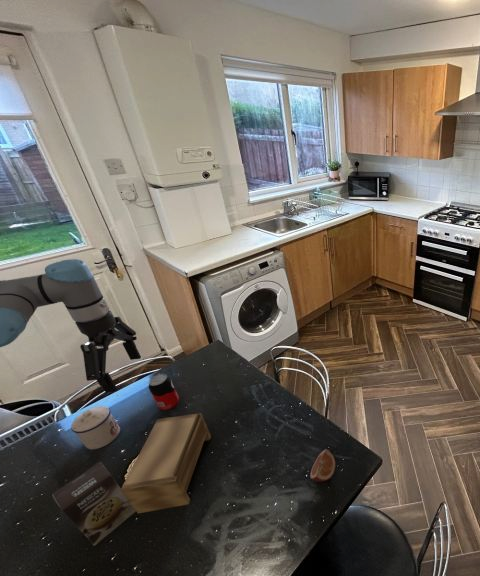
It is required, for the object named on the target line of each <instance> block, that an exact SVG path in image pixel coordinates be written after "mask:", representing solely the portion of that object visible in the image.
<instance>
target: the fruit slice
mask: <svg viewBox="0 0 480 576" xmlns="http://www.w3.org/2000/svg"><path fill="white" fill-rule="evenodd" d="M335 470H336V459H335V457H334V455H333V454H332V452H331V451H330V450H329V449H327V448H325V449H324V450H322V451H321V452H320V453H319V454H318V455H317V458H316V460H315V461H314V463H313V465H312V467H311V469H310V473H309V474H310V475H309V478H310V479H311V480H312V481H314V482H317V483H321V482H326V481H328V480H329V479H331V478H332V476H333V475H334V473H335V472H336V471H335Z"/></svg>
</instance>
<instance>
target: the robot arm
mask: <svg viewBox="0 0 480 576" xmlns="http://www.w3.org/2000/svg"><path fill="white" fill-rule="evenodd" d="M59 303H63V304H64V306H65V308H66V311H67V312H68V314H69V315H70V317H71V319H72V321H74V323H75V325H76V327H77V328H78V331H79V332H80V333H81V334H82V335H84V336H86V337H87V339H88V342H86V343H82V344H80V346H79V347H80V350H81V352H82V355H83V365H84V371H85V379H86V381H96V382H97V384H98V385H99V386H100V387H102V389H103V391H104V392H105V393H113V392H115V393H116V392H117V391H118V390H119V389H118V387H117V386H116V383H115V382H114V380H113V378H112V376H111V375H110V373H109V372H106V368H107V367H106V366H107V351H108V350H109V349H110V348H109V346H110V345H111V343H112V342H113V341H115V340H119V341H122V346H123V348H124V350H125V352H126V354H127V356H128V357H129V360H131V361H132V360H140V359H141V358H142V356H141V354H140V351H139V350H138V348H137V345H136V343H135V341H137V339H138V338H137V336H136V335H137V332H136V330H134V329H133V328H132V327H130V325H127V324H126V323H125V322H124V321H123V320H122V319H121V317H120V316H114V314H113V312H112V311H111V310H110V307H109V305H108V304H107V301H106V299H105V298H104V295H103V293H102V292H101V289H100V287H99V286H98V283H97V280H96V279H95V277H94V274H93V273H92V271H91V269H90V268H89V267H88V264H87V263H86V262H85V261H84V260H82V259H77V258H69V259H63V260H60V261H55V262H52V263H50V264H48V265H46V266H45V267H44V273H42V274H36V275H31V276H30V275H29V276H23V277H17V278H12V279H3V280H0V348H3V347H5V346H8V345H10V344H12V343H13V342H14V341H16V339H17V338H19V336H20V335H21V334H22V333H24V331H25V330H26V328H27V325H28V323H29V321H30V319H32V317H33V316H34V314H35V312H36V310H37V309H38V308H40V307H45V306H49V305H55V304H59ZM98 347H99V348H98Z"/></svg>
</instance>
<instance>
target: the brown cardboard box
mask: <svg viewBox="0 0 480 576" xmlns="http://www.w3.org/2000/svg"><path fill="white" fill-rule="evenodd" d="M121 488H122V487H120V485H119V484H118V483H117V481H116V480H115V478H114V477H113V475H112V474H111V472H110V471H109V470H108V469H107V467H106V466H105V465H104V464H103V463H102V462H101V461H99V462H97V463H96V464H94V465H93V466H92V467H90V468H88V469H86V470H85V471H84V472H83V473H81V474H79V475H78V476H77V477H75V478H74V479H72V480H71V481H69V482H68V483H66V484H64V485H63V486H62V487H61V488H59V489H58V490H56V491H54V492H53V493H52V498H53V499H54V501H55V503H56V504H57V505H58V507H59V508H60V510H61V511H62V512H63V513H64V514H65V515H66V517H67V518H68V519H69V520H70V521H71V522H72V523H73V524H74V525H75V527H77V528H78V530H79V531H80V532H81V533H82V534H83V535H84V536H85V537H86V539H87V540H89V542H90V543H91V544H92V545H93V546H97V545H98V544H99V543H100V542H101V541H102V540H103V539H105V538H106V537H107V536H108V535H109V534H111V533H112V532H113V531H114V530H116V529H117V528H118V527H119V526H121V525H122V524H123V523H124V522H125V521H127V520H128V519H129V518H130V517H132V516H133V515H134V514H135V513H137V512H136V510H135V509H134V507H133V506H132V505H131V503H130V502H129V501H128V499H127V498H126V497H125V495H124V494H123V493H122V491H121Z"/></svg>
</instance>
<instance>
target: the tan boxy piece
mask: <svg viewBox="0 0 480 576" xmlns="http://www.w3.org/2000/svg"><path fill="white" fill-rule="evenodd" d="M211 438H212V435H211V433H210V430H209V428H208V425H207V423H206V421H205V417H204V416H203V413H202V412H200V413H192V414H186V415H179V416H178V415H177V416H171V417H164V418H157V420H156V421H155V423H154V425H153V427H152V429H151V431H150V432H149V435H148V437H147V438H146V441H145V442H144V444H143V446H142V448H141V450H140V452H139V454H138V456H137V457H136V460H135V462H134V463H133V465H132V467H131V469H130V471H129V473H128V475H127V476H126V479H125V481H124V482H123V484H122V486H121V487H120V488H121V491H122V493H123V494H124V495H125V497H126V498H127V499H128V501H129V502H130V503H131V505H132V506H133V507H134V509H135V510H136V512H135V513H137V514H142V513H149V512H155V511H160V510H165V509H171V508H175V507H182V506H187V505H190V502H191V497H189V494H188V492H187V491H188V489H189V486H190V483H191V480H192V477H193V474H194V471H195V468H196V465H197V462H198V461H199V460H198V459H199V457H200V454H201V451H202V448H203V445H204V442H205V441H210V440H211Z"/></svg>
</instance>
